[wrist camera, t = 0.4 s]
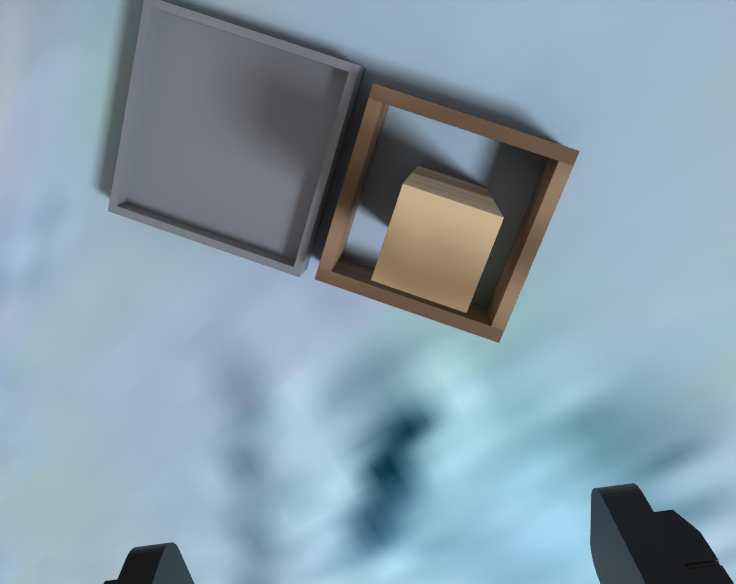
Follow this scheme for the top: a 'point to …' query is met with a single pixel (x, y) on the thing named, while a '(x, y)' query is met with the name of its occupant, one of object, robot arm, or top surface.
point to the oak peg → (438, 238)
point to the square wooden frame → (523, 249)
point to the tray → (231, 136)
